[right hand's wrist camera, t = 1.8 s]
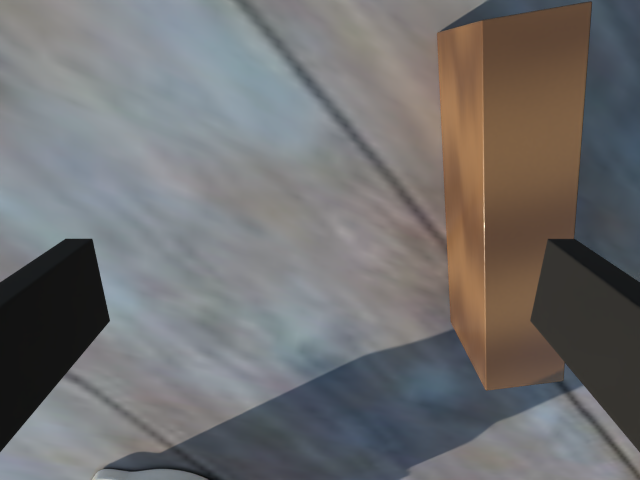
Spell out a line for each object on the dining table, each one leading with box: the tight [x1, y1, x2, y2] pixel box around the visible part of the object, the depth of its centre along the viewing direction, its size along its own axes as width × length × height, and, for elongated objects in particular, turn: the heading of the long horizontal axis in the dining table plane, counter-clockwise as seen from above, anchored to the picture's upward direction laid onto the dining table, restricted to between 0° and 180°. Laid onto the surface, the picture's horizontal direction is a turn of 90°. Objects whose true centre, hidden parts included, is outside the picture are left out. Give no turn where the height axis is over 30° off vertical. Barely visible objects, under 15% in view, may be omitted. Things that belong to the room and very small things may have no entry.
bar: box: [437, 1, 592, 390], centre depth 28 cm, size 22×5×8 cm, turn 9°
